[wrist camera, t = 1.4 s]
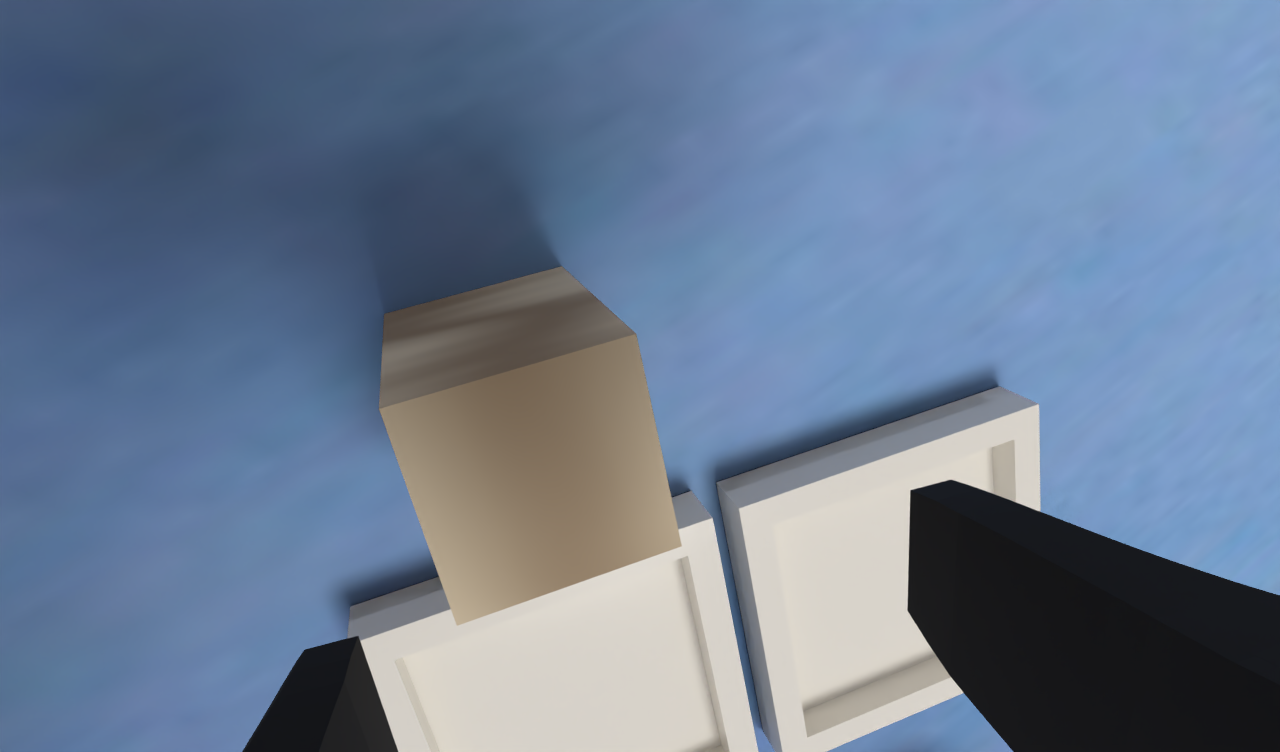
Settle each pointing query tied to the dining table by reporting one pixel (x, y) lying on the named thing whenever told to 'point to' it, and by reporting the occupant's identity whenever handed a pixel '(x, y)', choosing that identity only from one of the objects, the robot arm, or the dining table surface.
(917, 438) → the outer dish
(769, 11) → the dining table surface
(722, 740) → the white square tray
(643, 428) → the maple block
